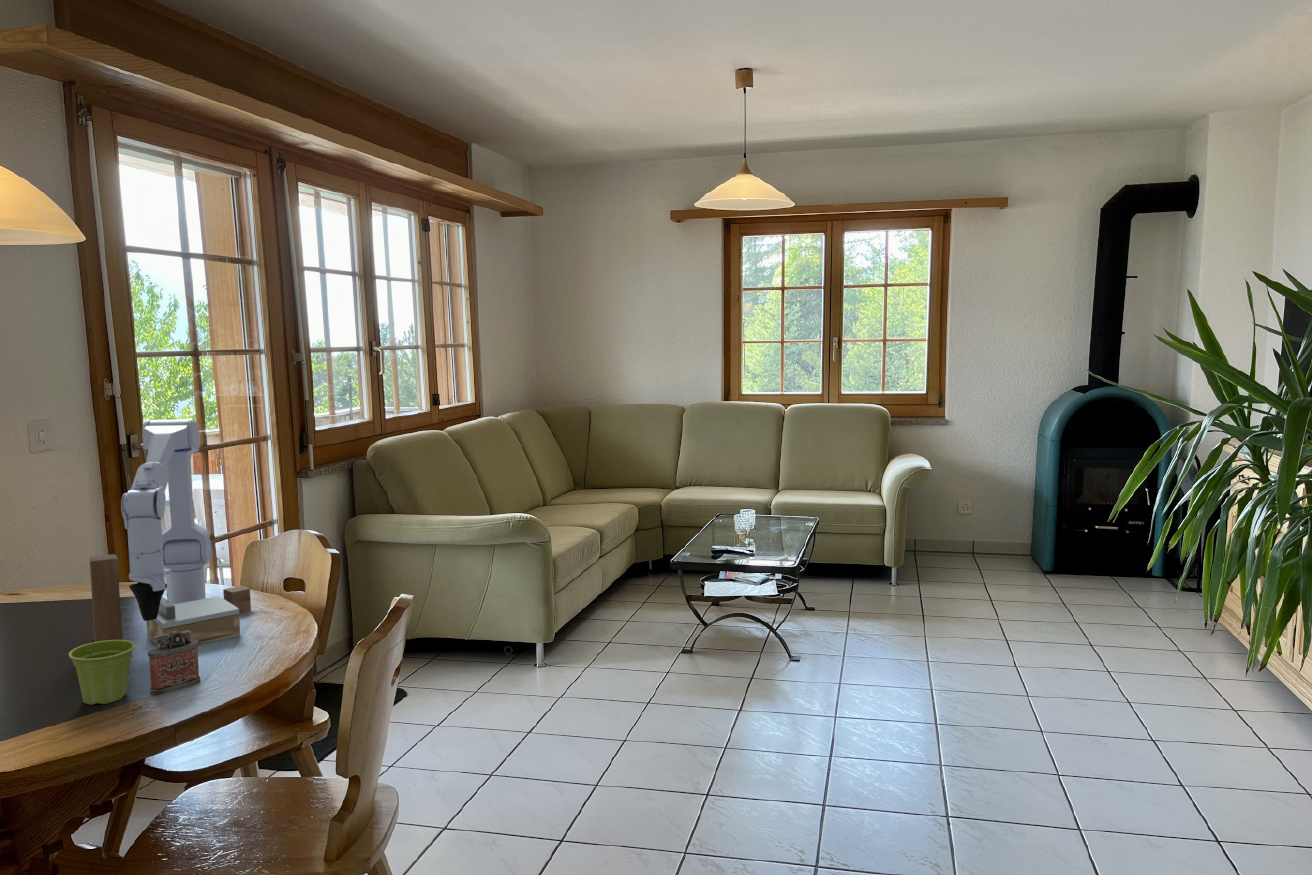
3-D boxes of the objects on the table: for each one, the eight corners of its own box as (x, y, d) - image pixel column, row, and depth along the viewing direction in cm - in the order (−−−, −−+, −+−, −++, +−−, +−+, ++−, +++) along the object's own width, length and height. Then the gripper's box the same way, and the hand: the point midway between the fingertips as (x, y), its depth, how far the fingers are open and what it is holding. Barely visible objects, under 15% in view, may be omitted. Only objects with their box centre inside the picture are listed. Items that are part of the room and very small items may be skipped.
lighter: (195, 678, 156) (192, 624, 155) (203, 683, 154) (201, 628, 153) (146, 691, 150) (143, 635, 149) (154, 697, 148) (151, 640, 147)
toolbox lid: (146, 614, 177) (145, 597, 177) (219, 600, 187) (218, 584, 186) (163, 628, 168) (162, 611, 168) (239, 613, 178) (238, 596, 178)
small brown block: (224, 610, 195) (223, 589, 194) (241, 606, 198) (240, 585, 197) (233, 614, 192) (232, 592, 192) (250, 610, 196) (249, 588, 195)
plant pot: (119, 683, 154) (116, 635, 153) (149, 694, 149) (146, 645, 148) (61, 701, 146) (57, 651, 145) (90, 714, 141) (87, 663, 140)
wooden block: (94, 638, 176) (88, 551, 174) (120, 634, 179) (115, 548, 177) (95, 652, 169) (89, 561, 167) (122, 647, 171) (117, 558, 169)
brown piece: (147, 636, 178) (146, 615, 177) (220, 621, 187) (219, 601, 187) (164, 652, 169) (163, 629, 169) (240, 635, 179) (239, 614, 178)
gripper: (181, 554, 166) (184, 623, 167) (157, 541, 176) (160, 606, 177) (139, 560, 161) (143, 631, 162) (117, 546, 171) (121, 614, 172)
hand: (149, 619), depth 169 cm, fingers closed
